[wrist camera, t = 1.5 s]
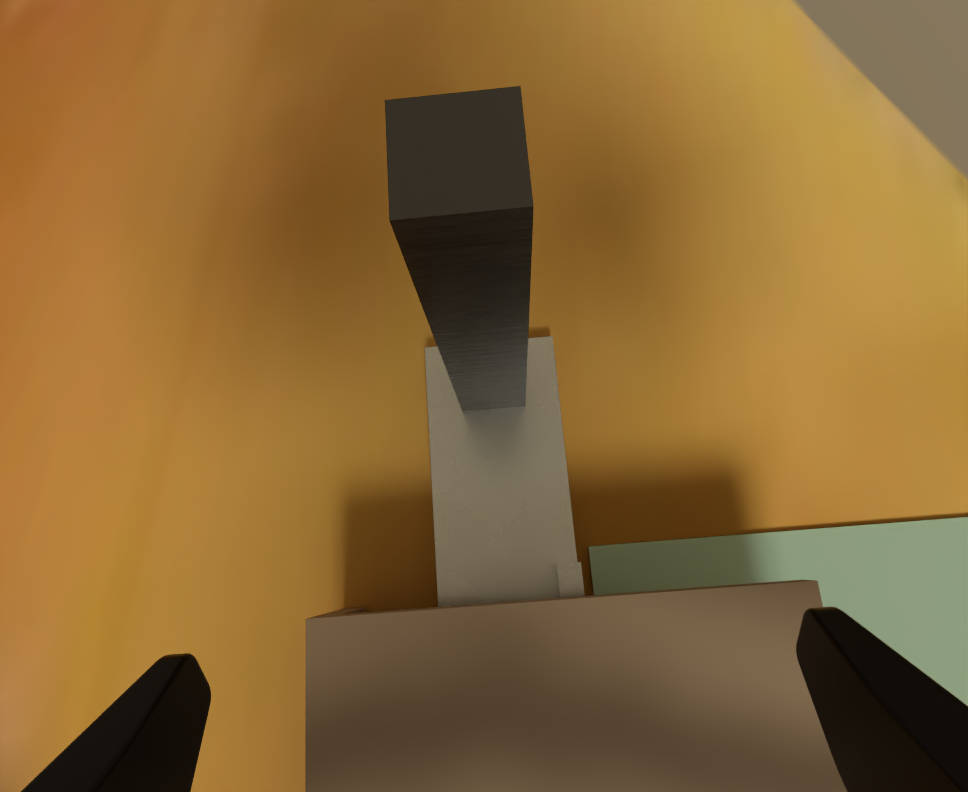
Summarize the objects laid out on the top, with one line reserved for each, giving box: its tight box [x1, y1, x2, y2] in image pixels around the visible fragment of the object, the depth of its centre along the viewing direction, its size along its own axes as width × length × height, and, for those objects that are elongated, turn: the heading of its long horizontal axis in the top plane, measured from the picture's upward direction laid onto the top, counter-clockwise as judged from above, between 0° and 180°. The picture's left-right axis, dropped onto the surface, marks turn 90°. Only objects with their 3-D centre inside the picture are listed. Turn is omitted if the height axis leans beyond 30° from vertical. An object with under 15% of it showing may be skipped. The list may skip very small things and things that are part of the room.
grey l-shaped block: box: [385, 86, 585, 607], centre depth 16 cm, size 15×5×14 cm, turn 4°
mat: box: [588, 517, 968, 706], centre depth 21 cm, size 9×14×1 cm, turn 94°
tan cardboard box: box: [306, 580, 847, 792], centre depth 19 cm, size 8×15×4 cm, turn 94°
